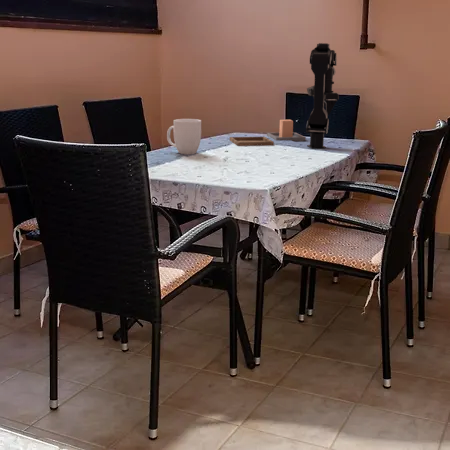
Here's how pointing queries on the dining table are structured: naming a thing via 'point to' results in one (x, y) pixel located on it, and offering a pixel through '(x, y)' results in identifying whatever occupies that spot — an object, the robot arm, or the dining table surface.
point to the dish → (251, 141)
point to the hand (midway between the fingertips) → (324, 114)
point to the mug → (186, 135)
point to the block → (286, 128)
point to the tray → (295, 137)
